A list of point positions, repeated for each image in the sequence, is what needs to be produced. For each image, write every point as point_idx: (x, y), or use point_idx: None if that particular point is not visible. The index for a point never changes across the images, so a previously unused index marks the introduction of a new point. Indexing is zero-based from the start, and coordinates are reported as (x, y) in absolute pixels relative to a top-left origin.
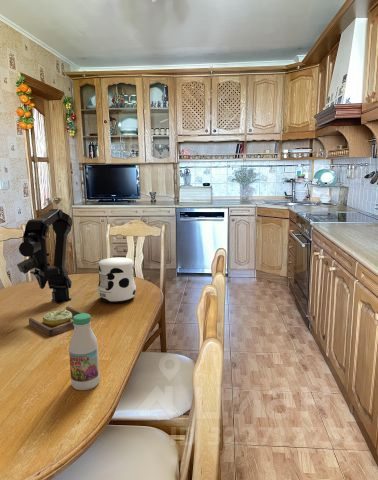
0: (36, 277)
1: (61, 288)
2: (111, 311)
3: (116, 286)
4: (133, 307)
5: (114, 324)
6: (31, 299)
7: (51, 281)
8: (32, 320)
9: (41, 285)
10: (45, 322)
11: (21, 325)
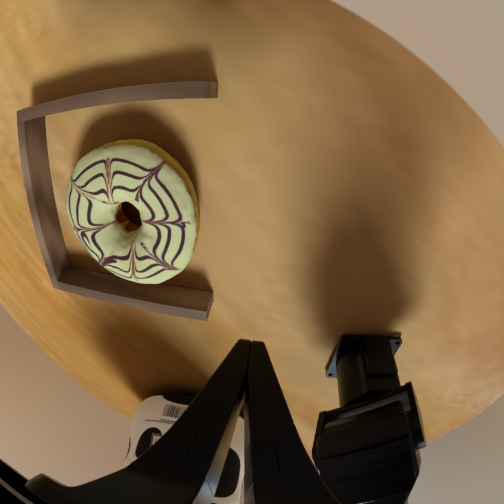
0: (290, 475)
1: (349, 405)
2: (112, 353)
3: (133, 439)
4: (109, 383)
5: (29, 291)
6: (485, 299)
7: (386, 426)
8: (157, 85)
9: (217, 372)
10: (120, 140)
11: (247, 50)
